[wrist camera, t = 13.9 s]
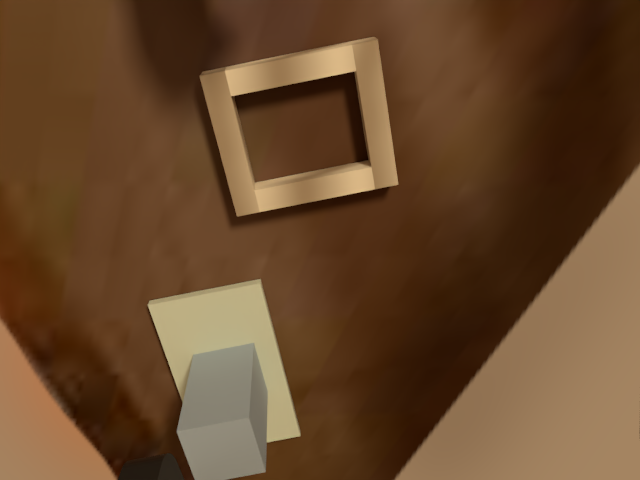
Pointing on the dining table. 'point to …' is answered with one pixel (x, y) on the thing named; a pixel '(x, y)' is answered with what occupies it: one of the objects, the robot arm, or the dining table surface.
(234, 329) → the tile
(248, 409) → the block
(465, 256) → the dining table surface
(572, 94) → the dining table surface
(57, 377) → the dining table surface
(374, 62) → the pocket frame
